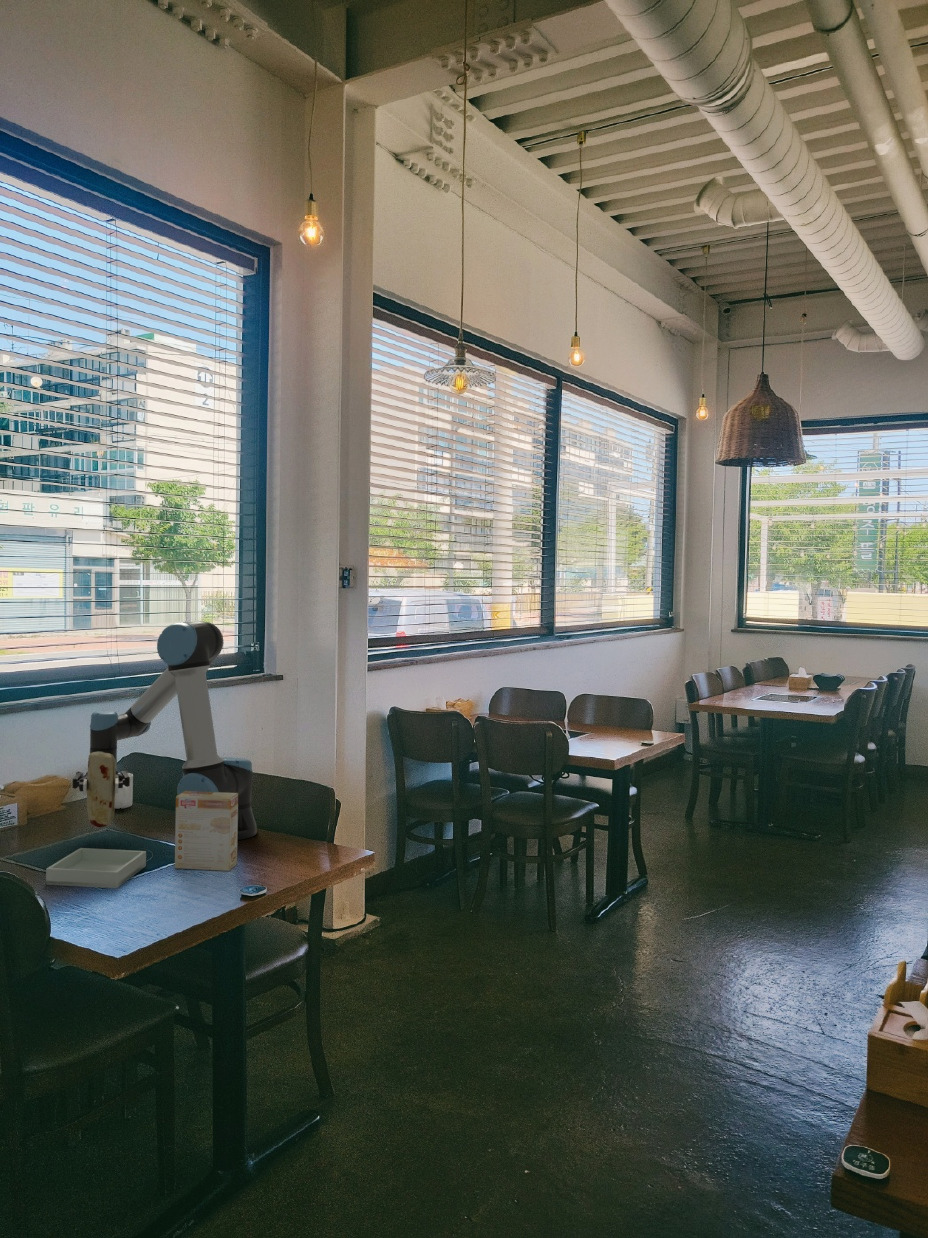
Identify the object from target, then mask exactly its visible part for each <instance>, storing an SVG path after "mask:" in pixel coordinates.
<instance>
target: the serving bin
mask: <svg viewBox="0 0 928 1238" xmlns="http://www.w3.org/2000/svg"><path fill="white" fill-rule="evenodd" d="M146 866H147V851H146V850H130V849H129V850H128V849H127V850H126V849H109V848H108V849H107V848H106V849H105V848H88V847H87V848H86V847H85V848H84V847H79V848H78V849H76V850H75V851H73V852H71V853H69V854H68V855H66V856H65V857H63V858H60V860H58V861H56V862H55V863H54V864H52V865H50V866H48V867H47V868H45V885H47V886H67V887H80V888H81V887H83V888H85V887H86V888H100V889H101V888H103V889H118V888H119V887H121V886H122V885H123V884H125V883H126V882H127V881H129V880H130V879H131V878H132V877H134V876H135V875H136V874H138V873H139V872H140V871H142V870H143V869H144V868H146Z"/></svg>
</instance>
